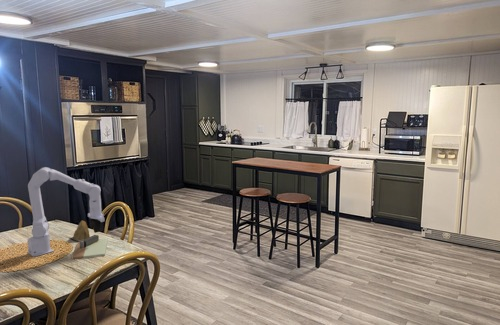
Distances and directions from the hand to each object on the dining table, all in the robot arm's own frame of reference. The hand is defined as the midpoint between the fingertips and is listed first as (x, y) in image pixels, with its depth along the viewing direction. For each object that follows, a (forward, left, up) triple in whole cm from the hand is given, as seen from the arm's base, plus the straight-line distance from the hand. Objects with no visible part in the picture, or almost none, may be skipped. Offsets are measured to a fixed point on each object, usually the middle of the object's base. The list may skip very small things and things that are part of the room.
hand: (96, 231), depth 185 cm
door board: (-4, -2, -8) cm, 9 cm away
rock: (-1, +18, -8) cm, 20 cm away
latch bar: (-2, +3, -6) cm, 8 cm away
